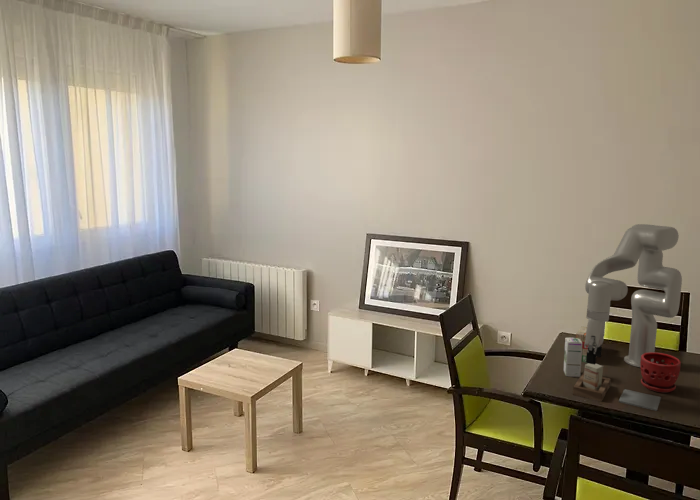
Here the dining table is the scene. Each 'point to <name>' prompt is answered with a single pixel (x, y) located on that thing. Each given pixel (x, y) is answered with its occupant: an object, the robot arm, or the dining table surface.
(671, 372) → the plant pot
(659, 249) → the robot arm
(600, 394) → the pocket block
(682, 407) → the dining table surface
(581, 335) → the brown printed cardboard box
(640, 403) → the mat
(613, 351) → the dining table surface
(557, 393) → the dining table surface
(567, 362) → the syrup box
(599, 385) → the skincare box
